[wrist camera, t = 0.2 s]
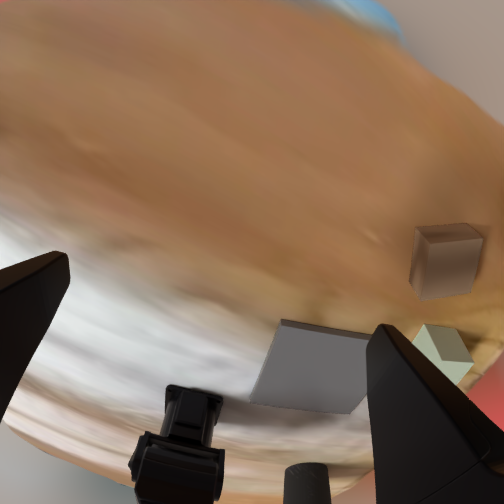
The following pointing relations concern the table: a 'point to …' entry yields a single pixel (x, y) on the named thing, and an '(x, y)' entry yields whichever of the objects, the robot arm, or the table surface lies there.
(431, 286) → the walnut block
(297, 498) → the travel mug
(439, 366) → the sage block
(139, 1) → the table surface
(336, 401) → the plate
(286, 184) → the table surface
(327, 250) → the table surface
